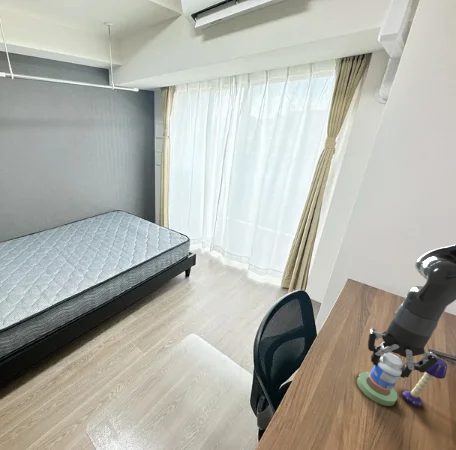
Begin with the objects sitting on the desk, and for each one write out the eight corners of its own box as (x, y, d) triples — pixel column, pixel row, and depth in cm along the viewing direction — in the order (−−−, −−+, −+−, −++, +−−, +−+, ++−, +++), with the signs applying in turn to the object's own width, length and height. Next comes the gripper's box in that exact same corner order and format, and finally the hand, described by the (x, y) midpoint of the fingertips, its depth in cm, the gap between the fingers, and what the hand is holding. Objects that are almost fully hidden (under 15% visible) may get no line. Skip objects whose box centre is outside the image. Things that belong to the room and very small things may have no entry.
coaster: (393, 388, 75) (396, 383, 74) (396, 412, 68) (399, 408, 68) (357, 371, 80) (359, 366, 79) (356, 392, 73) (359, 387, 73)
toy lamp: (427, 406, 70) (456, 365, 64) (416, 411, 69) (445, 370, 63) (407, 390, 74) (432, 350, 68) (397, 394, 73) (421, 354, 67)
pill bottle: (368, 370, 76) (379, 347, 73) (390, 380, 73) (404, 356, 70) (369, 383, 72) (382, 359, 68) (394, 394, 69) (408, 370, 66)
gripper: (378, 319, 66) (356, 363, 72) (457, 347, 58) (424, 395, 64) (376, 304, 71) (356, 347, 77) (448, 329, 63) (419, 374, 69)
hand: (387, 368), depth 71 cm, fingers closed on pill bottle, 5 cm apart
